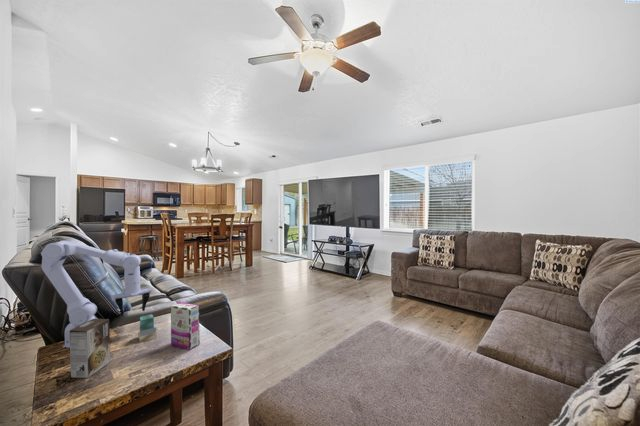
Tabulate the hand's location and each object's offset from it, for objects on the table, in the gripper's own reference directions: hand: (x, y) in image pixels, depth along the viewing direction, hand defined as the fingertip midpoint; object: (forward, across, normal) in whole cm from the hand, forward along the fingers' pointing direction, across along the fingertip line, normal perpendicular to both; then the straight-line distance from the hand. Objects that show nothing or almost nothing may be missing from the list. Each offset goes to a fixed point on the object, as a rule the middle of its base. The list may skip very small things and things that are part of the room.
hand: (133, 312), depth 114 cm
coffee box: (+10, -14, -20) cm, 27 cm away
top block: (+8, +4, -7) cm, 11 cm away
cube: (+5, +4, -8) cm, 10 cm away
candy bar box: (+10, +15, -25) cm, 31 cm away
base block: (+10, +4, -7) cm, 13 cm away
